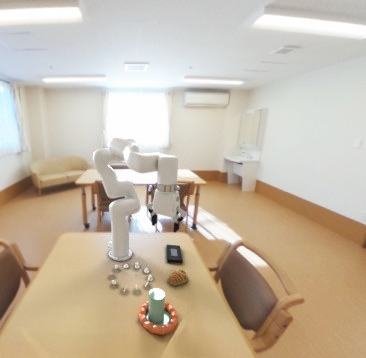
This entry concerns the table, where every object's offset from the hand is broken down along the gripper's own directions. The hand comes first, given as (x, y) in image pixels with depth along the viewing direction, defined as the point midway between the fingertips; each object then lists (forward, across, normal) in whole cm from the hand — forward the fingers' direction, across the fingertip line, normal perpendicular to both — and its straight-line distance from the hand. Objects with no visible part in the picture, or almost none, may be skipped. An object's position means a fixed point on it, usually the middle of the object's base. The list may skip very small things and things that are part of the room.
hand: (164, 227), depth 85 cm
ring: (+26, -7, +16) cm, 31 cm away
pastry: (+28, -4, -8) cm, 30 cm away
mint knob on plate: (+28, -6, +16) cm, 33 cm away
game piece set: (+28, +14, +4) cm, 32 cm away
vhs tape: (+28, +6, -25) cm, 38 cm away
